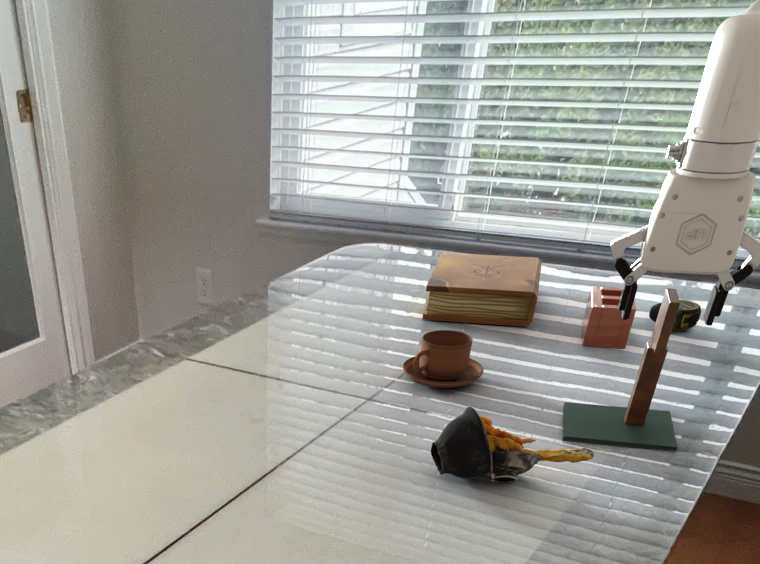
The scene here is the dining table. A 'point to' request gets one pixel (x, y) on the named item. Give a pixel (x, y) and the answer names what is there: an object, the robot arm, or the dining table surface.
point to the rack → (605, 319)
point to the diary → (483, 289)
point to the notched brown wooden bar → (652, 361)
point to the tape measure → (681, 314)
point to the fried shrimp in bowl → (490, 450)
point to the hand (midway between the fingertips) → (665, 319)
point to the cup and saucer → (444, 361)
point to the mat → (617, 427)
